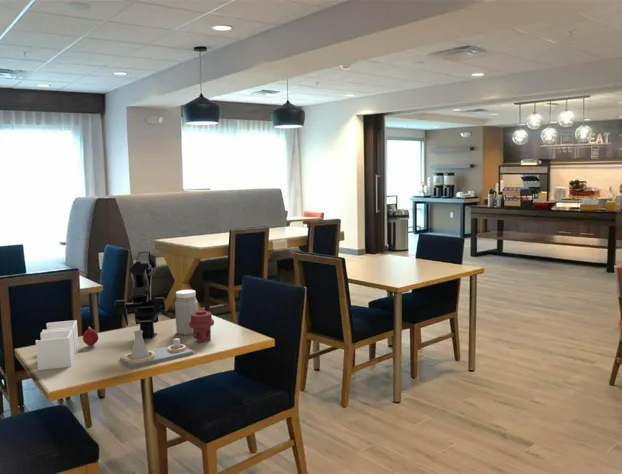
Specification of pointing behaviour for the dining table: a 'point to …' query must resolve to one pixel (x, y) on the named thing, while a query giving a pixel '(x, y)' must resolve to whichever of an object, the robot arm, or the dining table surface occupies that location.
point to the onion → (90, 337)
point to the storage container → (57, 345)
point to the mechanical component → (201, 325)
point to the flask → (139, 347)
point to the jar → (185, 310)
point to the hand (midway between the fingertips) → (139, 324)
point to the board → (158, 355)
